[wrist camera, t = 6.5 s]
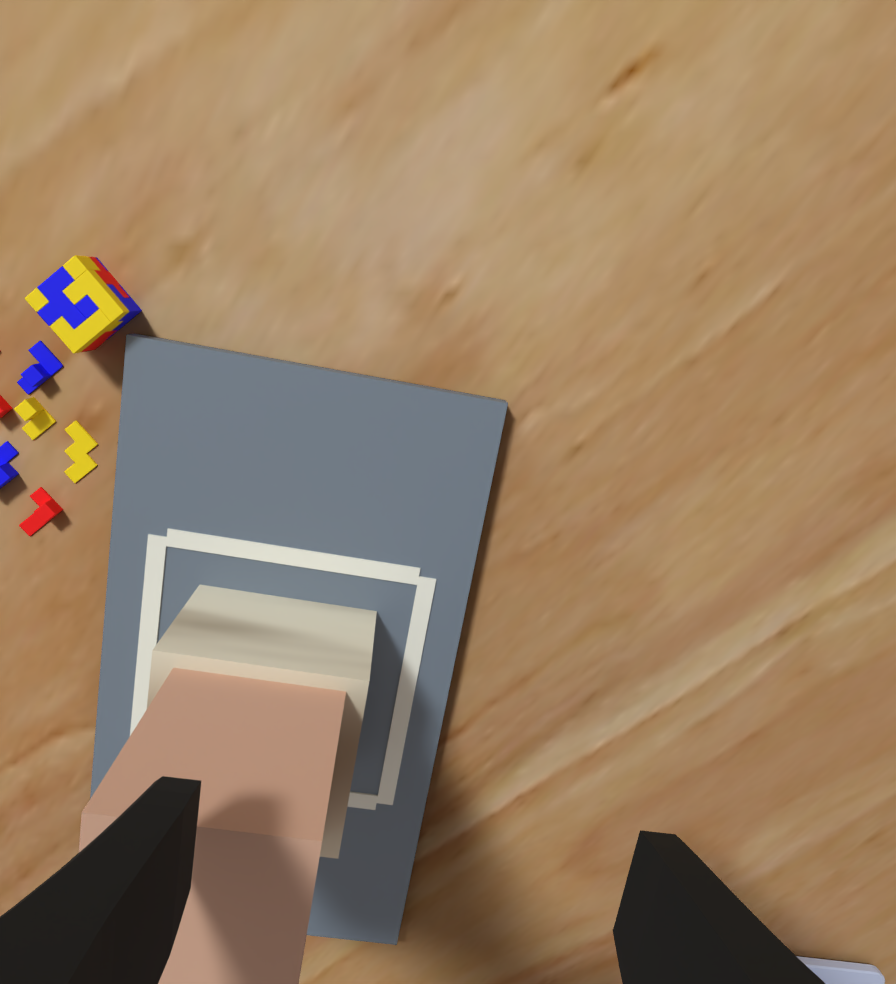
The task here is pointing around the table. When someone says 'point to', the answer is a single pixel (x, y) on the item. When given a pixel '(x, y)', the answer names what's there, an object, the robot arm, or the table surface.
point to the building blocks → (82, 327)
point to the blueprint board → (304, 560)
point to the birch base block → (279, 661)
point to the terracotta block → (236, 815)
